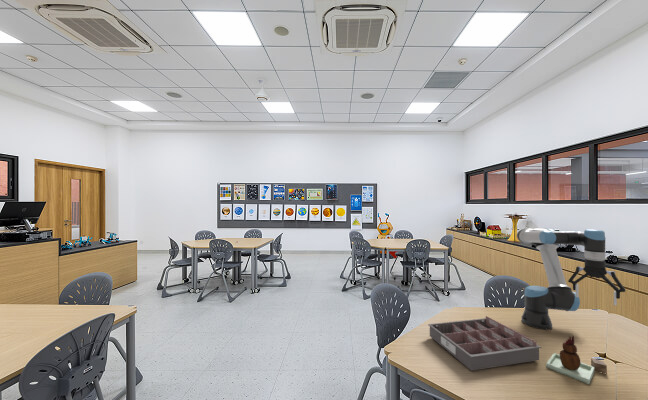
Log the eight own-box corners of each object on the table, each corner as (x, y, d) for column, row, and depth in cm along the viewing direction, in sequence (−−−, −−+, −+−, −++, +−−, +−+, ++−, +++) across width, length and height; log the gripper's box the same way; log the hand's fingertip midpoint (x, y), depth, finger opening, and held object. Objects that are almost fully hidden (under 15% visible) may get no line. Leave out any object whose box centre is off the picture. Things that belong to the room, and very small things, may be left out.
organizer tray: (427, 338, 145) (427, 320, 145) (486, 331, 153) (486, 314, 153) (470, 374, 114) (470, 352, 114) (542, 363, 122) (541, 342, 122)
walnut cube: (594, 371, 116) (594, 362, 116) (591, 366, 120) (591, 358, 120) (606, 374, 114) (606, 365, 114) (603, 369, 118) (603, 361, 118)
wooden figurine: (575, 365, 119) (574, 333, 119) (583, 373, 114) (582, 339, 114) (557, 362, 121) (556, 331, 122) (564, 370, 116) (563, 337, 116)
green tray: (546, 367, 119) (546, 363, 119) (554, 356, 127) (554, 352, 127) (589, 384, 108) (589, 379, 108) (594, 371, 116) (594, 367, 116)
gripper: (560, 256, 140) (561, 295, 140) (631, 265, 120) (632, 310, 120) (564, 254, 144) (564, 292, 144) (632, 263, 124) (633, 306, 124)
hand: (595, 300), depth 132 cm, fingers open, 13 cm apart
